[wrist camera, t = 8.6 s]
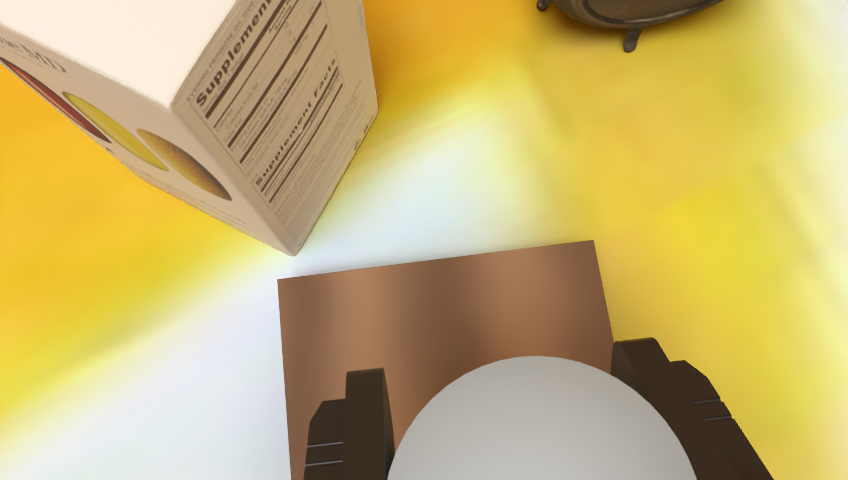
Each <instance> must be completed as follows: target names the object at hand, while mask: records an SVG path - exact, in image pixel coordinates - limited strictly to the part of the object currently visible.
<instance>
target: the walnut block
mask: <svg viewBox="0 0 848 480" xmlns="http://www.w3.org/2000/svg"><path fill="white" fill-rule="evenodd" d="M277 282H278V296H279V310H280V325H281V339H282V353H283V367H284V382H285V396H286V410H287V425H288V439H289V453H290V468H291V480H303V479H304V470H305V460H306V451H307V442H308V432H309V423H310V421H311V419H312V417H313V416H314V414H315V412H316V411H317V409H318V408H319V406H320V404H321V403H322V401H327V400H336V399H345V392H346V374H347V371H355V370H364V369H372V368H381V367H383V368H384V371H385V377H386V384H387V390H388V397H389V403H390V410H391V416H392V423H393V431H394V441H395V454H396V451H397V449H398V447H399V445H400V443H401V441H402V439H403V437H404V435H405V433H406V431H407V430H408V428H409V427H410V425H411V424H412V422H413V421H414V419H415V418H416V417H417V415H418V414H419V413H420V412H421V410H422V409H423V408H424V407H425V406H426V405H427V404H428V403H429V401H430V400H431V399H432V398H433V397H435V396H436V395H437V394H438V393H439V392H440V391H441V390H443V389H444V388H445V387H446V386H447V385H449V384H450V383H452V382H454V381H455V380H457V379H458V378H460V377H461V376H463V375H464V374H467V373H469V372H471V371H473V370H475V369H477V368H479V367H481V366H484V365H487V364H490V363H493V362H496V361H500V360H505V359H510V358H516V357H525V356H547V357H558V358H564V359H568V360H573V361H577V362H581V363H583V364H586V365H589V366H592V367H595V368H597V369H600V370H602V371H604V372H606V373H607V374H609V375H610V374H611V361H612V349H613V344H614V342H613V337H612V332H611V327H610V321H609V316H608V311H607V306H606V301H605V296H604V291H603V286H602V281H601V276H600V271H599V266H598V261H597V256H596V251H595V246H594V241H593V240H590V241H582V242H574V243H566V244H558V245H549V246H541V247H533V248H525V249H517V250H509V251H501V252H493V253H485V254H477V255H469V256H461V257H453V258H445V259H437V260H429V261H421V262H413V263H405V264H397V265H389V266H381V267H373V268H365V269H357V270H349V271H341V272H333V273H324V274H316V275H308V276H300V277H292V278H284V279H277Z"/></svg>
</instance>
